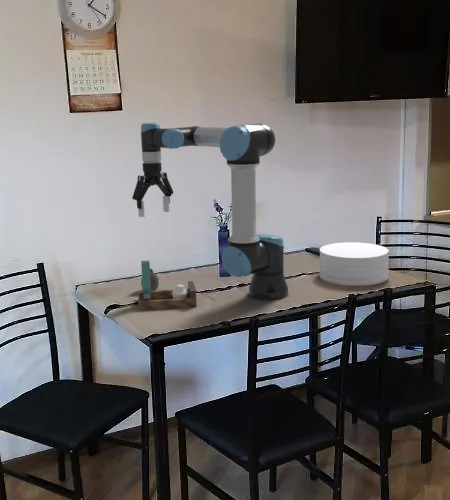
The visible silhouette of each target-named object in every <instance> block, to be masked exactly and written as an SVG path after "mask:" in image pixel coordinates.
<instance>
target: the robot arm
mask: <svg viewBox="0 0 450 500" xmlns="http://www.w3.org/2000/svg"><path fill="white" fill-rule="evenodd" d="M160 126H161V125H160V123H158V122H144V123H142V124H141V125H140V138H141V139H140V140H141V158H142V160H141V161H142V162H143V163H142V172H143V175H137V181H136V185H135V189H134V191H133V194H132V198H131V199H132V200H134V201H136V207H137V208H136V209H138V210H137V211H138V217H141V218H144V217H145V200H143V199H144V197H145V195H146V194H147V192H148V189H150V188H151V187H153V186H157V187H158V188H159V190H160V191H161V192H162V194H163V196H162V205H163V207H162V209H163V212H164V213H170V203H171V197H172V196H173V194H174V190H173V187H172V185H171V183H170V180H169V179H168V173H167V172H163V171H162V168H163V167H162V151H161V150H162V149H163V148H164V149H170V150H172V149H174V150H175V149H179V148H183V147H210V148H219V150H220V154H222V156H223V157H224V159H226V165H227V166H228V167H229V168H230V173H231V175H230V176H231V177H230V179H231V180H230V181H231V185H230V186H231V189H230V190H231V235H230V236H229V237H228V239H227V247H226V248H225V249H224V250H223V251H222V253H221V262H222V265H223V267H224V269H225V270H226V271H227V273H228V274H230V276H232V277H235V278H241V277H243V278H244V277H247V276H249V275H252V277H251V280H250V282H249V283H250V284H249V288H248V296H249V297H251V298H255V299H258V300H277V299H278V300H279V299H282V298H286V297H288V295H289V287H288V284H287V282H286V281H287V280H286V277H285V275H284V273H285V272H284V265H285V263H284V262H285V261H284V258H285V255H284V254H285V253H284V250H285V246H284V239H283V237H282V236H280V235H276V234H266V233H265V234H262V233H261V234H259V233H256V231H257V222H256V221H257V220H256V219H257V218H256V217H257V211H256V210H257V207H256V192H257V191H256V188H257V187H256V168H257V167H258V166H259V165H260V162H261V161H260V157H264V156H266V155H268V154H270V152H271V151H272V150H273V149H274V147H275V145H276V134H275V132H274V131H273V129H272V128H271V127H270V126H268V125H266V124H263V123H253V124H236V125H232V126H230V127H213V126H212V127H211V126H196V125H193V126H185V127H174V128H173V127H170V128H161V127H160ZM161 148H162V149H161Z"/></svg>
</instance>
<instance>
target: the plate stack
mask: <svg viewBox="0 0 450 500" xmlns="http://www.w3.org/2000/svg"><path fill="white" fill-rule="evenodd" d="M389 251H390V250H389V249H388V248H387V247H385V246H383V245H380V244H375V243H368V242H355V241H354V242H349V241H348V242H336V243H335V242H334V243H330V244H324V245H323V246H321V247H320V248H319V268H318V269H319V273H318V274H319V278H320V279H321V280H323V281H324V282H327V283H331V284H336V285H342V286H372V285H377V284H382V283H384V282H385V281H387V280H388V277H389V274H388V273H389V254H390V252H389Z"/></svg>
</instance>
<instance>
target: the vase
mask: <svg viewBox="0 0 450 500" xmlns="http://www.w3.org/2000/svg"><path fill="white" fill-rule="evenodd" d="M150 281H151V291H158V288H159V284H160V282H159V277H158V275H157V273H155V271H154V270H153V268H150ZM140 283H141V284H140V285H141V287H142V288H141V289H143V286H142V278H141V279H140Z"/></svg>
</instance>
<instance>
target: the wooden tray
mask: <svg viewBox="0 0 450 500" xmlns="http://www.w3.org/2000/svg"><path fill="white" fill-rule="evenodd" d="M187 285H188V287H187V288H185V289H186V290H187V291H188V295H187V298H182V299H174V298H173V295H172V292H173V290H174V289H165V290H164V289H162V290H161V289H159V290H158V289H157V290H156V291H150V295H151V300H146V301H144V293H143V290H142V291H137V292H138V301H137V302H138V311H146V310H147V311H149V310H163V309H165V310H166V309H180V308H181V309H183V308H196V307H197V301H198V300H197V290H196V286H195V281H194V280H190V281H187Z"/></svg>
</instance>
